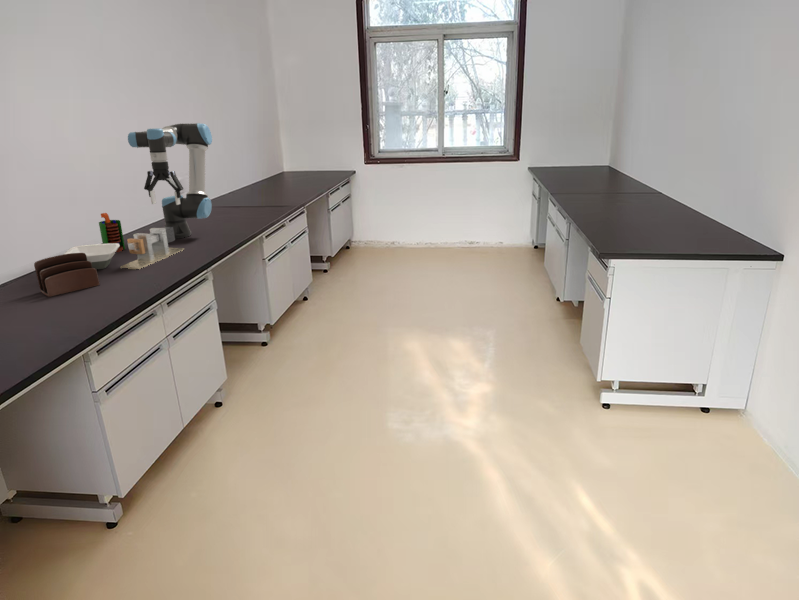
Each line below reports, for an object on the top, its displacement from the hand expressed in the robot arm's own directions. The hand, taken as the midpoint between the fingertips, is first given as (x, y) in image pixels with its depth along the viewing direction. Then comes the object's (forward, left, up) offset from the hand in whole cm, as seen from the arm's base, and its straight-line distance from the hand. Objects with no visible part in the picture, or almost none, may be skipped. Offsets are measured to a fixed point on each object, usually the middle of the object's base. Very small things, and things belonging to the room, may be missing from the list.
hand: (166, 204), depth 273 cm
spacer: (-1, -25, -19) cm, 31 cm away
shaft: (-1, -14, -19) cm, 23 cm away
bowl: (-20, -32, -25) cm, 45 cm away
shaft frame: (-1, -14, -25) cm, 29 cm away
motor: (-32, -5, -25) cm, 41 cm away
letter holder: (-7, -61, -26) cm, 67 cm away
